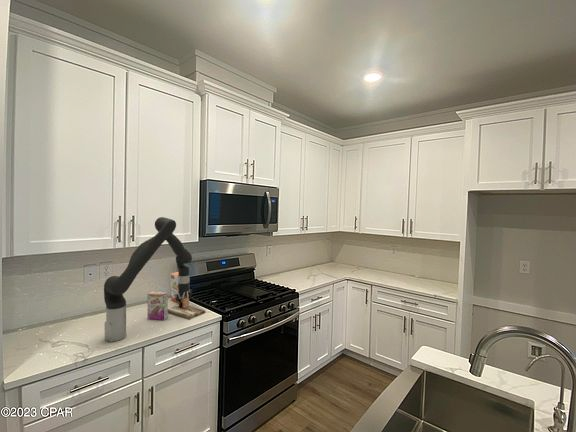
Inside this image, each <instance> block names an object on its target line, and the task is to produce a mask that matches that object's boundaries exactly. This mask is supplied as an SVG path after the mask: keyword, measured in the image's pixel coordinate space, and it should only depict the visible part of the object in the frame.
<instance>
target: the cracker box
mask: <svg viewBox="0 0 576 432" xmlns="http://www.w3.org/2000/svg"><path fill="white" fill-rule="evenodd" d="M170 279H171V280H170V281H171V282H170V284H171V285H170V290H171V291H170V293H171V295H170V298H171V301H173V302H174V303H177V304H178V302H177V301H176V298H175V294H177V293H178V291H179V290H178V271H176V272H175V271H173V272H170Z"/></svg>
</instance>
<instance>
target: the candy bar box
mask: <svg viewBox="0 0 576 432" xmlns="http://www.w3.org/2000/svg"><path fill="white" fill-rule="evenodd" d="M168 298H169V292H164V291H160V292H159V291H150V292H149V293H147V320H154V321H155V320H156V321H165V320H167V319H168V316H169V313H168V309H169V304H168V303H169V302H168V300H169V299H168Z"/></svg>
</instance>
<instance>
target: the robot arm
mask: <svg viewBox="0 0 576 432" xmlns="http://www.w3.org/2000/svg"><path fill="white" fill-rule="evenodd" d="M154 228H155V230H156V231H157V233H156V234H155V235H154V236H152V237H151V238H149V239H147V240H145V241H144V242H142V243H141V244H139V245H138V247H136V249H135V250H134V251H133V252H132V253H131V256H130V258H129V261H128V265H127V267H126V268H125V270H124V271H123V272H122V273H121V274H120V275H119V276H117V275H112V276H109V277H107V278H106V280H105V281H104V284H103V294H104V295H103V297H104V303H105V310H106V311H105V313H106V314H105V317H106V318H105V319H106V320H105V321H104V323H103V324H104V340H105V341H107V342H109V343H113V342H118V341H121V340H123V339H125V338H126V337H127V300H126V298H125V297H124V294H125V293H126V292H127V291H128V290H129V288H131V287H130V286H131V285H132V283H133V282H134V281H135V279H136V278H137V276H138V274H139V273H141V271H142V270H143V269H144V267H145V265H147V263H148V262H149V261H150V260H151V258H152V257H153V256H154V255H155V253H156V252H157V251H158V249H159V248H160V247H161V246H162V245H163V243H164V242H165V241H166V243H167V244H168V246H169V247H170V248H171V249H172V251H173V253H174V254H175V263H176V266H177V269H178V271H177V272H178V290H179V291H178V293H177V294H175V298H176V301H177V302H179V307H181V308H182V301H183V299H184V297H188V298H189V299H191V298H192V294H193V289H190V286H191V285H190V283H191V282H190V279H191V278H190V267H189V266H187V265H185V264H188V265H189V264H190V263H191V262H192V261H193V256H192V254H191V252H189V250H187V248H185V247H184V245H183V243H182V241H181V240H180V239H179V238H178V237H177V236H176V235H175V234H174V231H175V230H176V228H177V223H176V221H175V220H174V219H172V218H168V217H164V216H162V217H158V218H157V219H156V220H155V221H154ZM177 302H176V303H177Z"/></svg>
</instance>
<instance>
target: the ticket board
mask: <svg viewBox="0 0 576 432" xmlns="http://www.w3.org/2000/svg"><path fill="white" fill-rule="evenodd" d="M205 313H206V310H205V309H201V308H199V307H196V306H195V307H194V306H191V305H189V307H186V308H181V307H179V306H178V305H177V306H175V305H174V306H171V307H168V315H171V316H175V317H179V318H183V319H185V320H189V321H190V320H192V319H195V318H197V317H199V316H201V315H204V314H205Z"/></svg>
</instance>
